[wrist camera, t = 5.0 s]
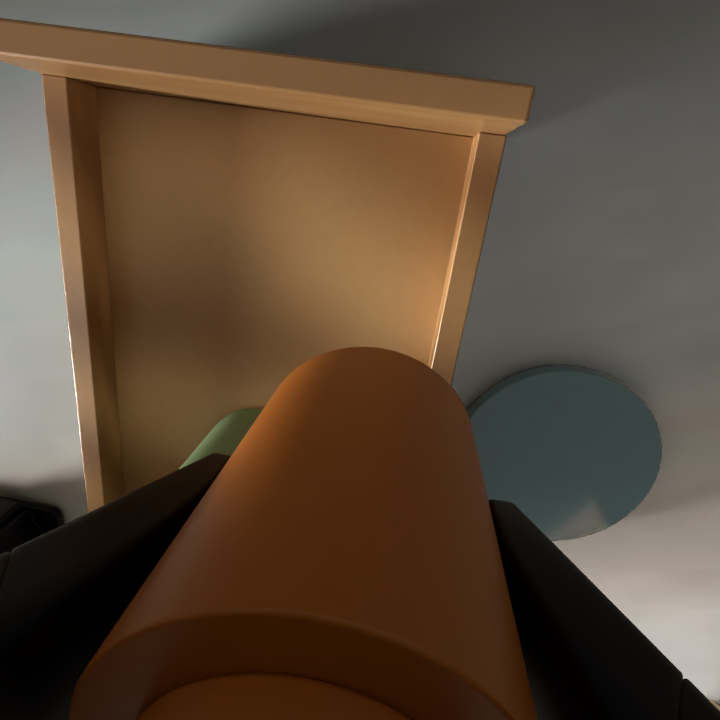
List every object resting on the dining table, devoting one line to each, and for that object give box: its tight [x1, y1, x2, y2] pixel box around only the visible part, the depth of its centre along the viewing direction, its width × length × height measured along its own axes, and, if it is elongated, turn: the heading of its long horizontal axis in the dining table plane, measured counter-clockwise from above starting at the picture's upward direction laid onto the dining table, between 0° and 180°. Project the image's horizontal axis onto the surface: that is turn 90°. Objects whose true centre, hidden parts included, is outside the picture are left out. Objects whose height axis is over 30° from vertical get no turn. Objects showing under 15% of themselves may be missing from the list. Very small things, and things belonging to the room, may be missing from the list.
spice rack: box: [0, 18, 535, 513], centre depth 18 cm, size 19×14×8 cm
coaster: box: [467, 365, 662, 541], centre depth 21 cm, size 9×9×1 cm
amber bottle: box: [68, 347, 537, 720], centre depth 6 cm, size 4×4×8 cm
